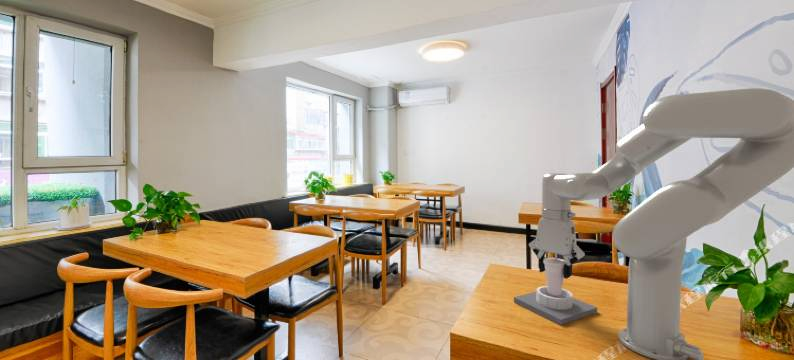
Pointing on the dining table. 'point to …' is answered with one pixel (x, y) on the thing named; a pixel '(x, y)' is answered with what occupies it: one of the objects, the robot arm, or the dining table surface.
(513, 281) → the dining table surface
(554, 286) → the smoothie
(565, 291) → the duct collar
